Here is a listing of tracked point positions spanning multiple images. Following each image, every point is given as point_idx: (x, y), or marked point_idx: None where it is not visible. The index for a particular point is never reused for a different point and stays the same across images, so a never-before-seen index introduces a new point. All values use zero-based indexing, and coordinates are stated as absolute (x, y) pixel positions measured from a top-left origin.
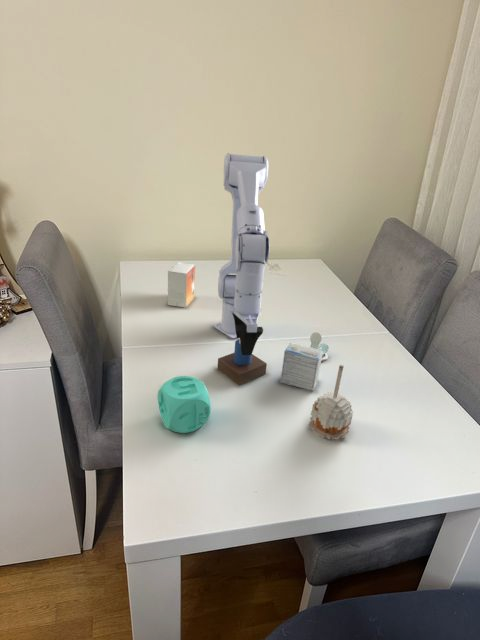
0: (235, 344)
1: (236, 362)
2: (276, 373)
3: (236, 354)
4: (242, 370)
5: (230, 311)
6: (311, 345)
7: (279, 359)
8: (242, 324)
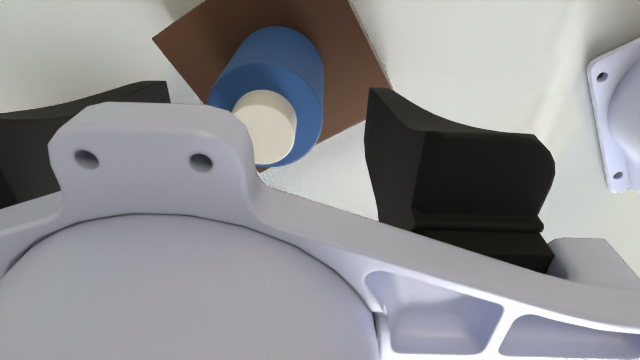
0: (253, 59)
1: (248, 37)
2: (274, 181)
3: (243, 48)
4: (189, 56)
5: (52, 140)
6: None
7: (367, 210)
8: (382, 165)
